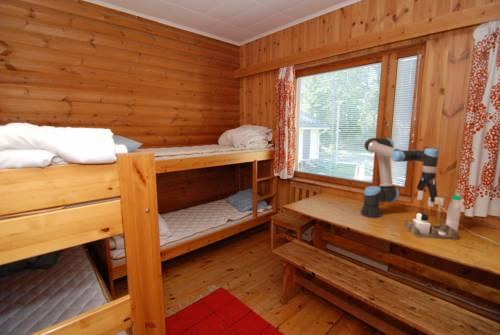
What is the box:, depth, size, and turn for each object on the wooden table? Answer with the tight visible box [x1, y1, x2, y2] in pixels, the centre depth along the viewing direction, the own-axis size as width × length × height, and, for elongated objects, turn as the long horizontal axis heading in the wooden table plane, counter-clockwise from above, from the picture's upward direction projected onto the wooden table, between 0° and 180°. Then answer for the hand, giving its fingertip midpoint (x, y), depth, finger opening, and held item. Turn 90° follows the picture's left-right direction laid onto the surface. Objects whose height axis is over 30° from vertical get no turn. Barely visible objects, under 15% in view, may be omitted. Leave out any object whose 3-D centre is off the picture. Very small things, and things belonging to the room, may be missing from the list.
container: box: [412, 212, 432, 235], centre depth 165 cm, size 8×8×13 cm
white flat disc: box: [437, 229, 446, 236], centre depth 164 cm, size 8×8×1 cm
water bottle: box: [445, 194, 462, 231], centre depth 168 cm, size 7×7×25 cm
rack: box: [403, 219, 459, 241], centre depth 164 cm, size 18×24×6 cm
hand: (424, 202), depth 162 cm, fingers open, 13 cm apart
